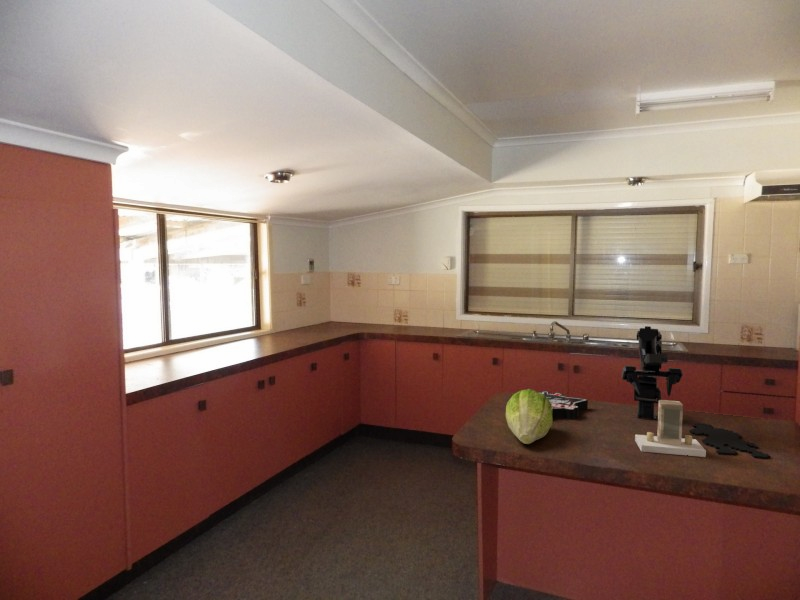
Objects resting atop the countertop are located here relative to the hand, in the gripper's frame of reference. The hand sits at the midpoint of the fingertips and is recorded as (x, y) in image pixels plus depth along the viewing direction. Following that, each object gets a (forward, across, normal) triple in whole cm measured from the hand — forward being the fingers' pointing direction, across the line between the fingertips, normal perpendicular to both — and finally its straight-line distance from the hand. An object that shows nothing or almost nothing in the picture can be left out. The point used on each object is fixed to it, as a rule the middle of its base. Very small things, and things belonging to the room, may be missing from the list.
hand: (654, 394), depth 171 cm
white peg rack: (+19, +2, 0) cm, 19 cm away
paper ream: (+18, +2, -2) cm, 18 cm away
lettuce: (+19, -42, 0) cm, 46 cm away
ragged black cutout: (+11, +21, +9) cm, 25 cm away
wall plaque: (-3, -35, +23) cm, 42 cm away
